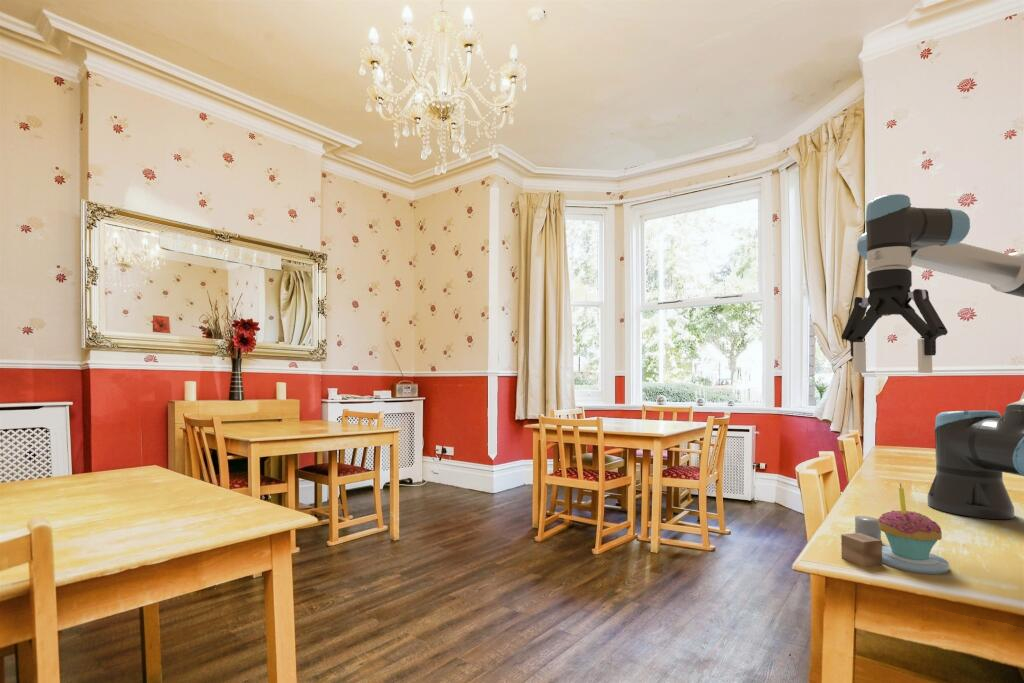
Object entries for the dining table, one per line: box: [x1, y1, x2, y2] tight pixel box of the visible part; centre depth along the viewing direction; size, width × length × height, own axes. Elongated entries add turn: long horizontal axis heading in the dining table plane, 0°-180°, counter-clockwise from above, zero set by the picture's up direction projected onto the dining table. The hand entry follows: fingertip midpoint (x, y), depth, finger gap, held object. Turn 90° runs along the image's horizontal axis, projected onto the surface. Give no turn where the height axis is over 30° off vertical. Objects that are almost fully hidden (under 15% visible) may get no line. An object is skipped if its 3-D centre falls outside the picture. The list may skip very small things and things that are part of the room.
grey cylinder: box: [854, 515, 882, 540], centre depth 97 cm, size 4×4×4 cm
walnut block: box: [840, 533, 883, 568], centre depth 86 cm, size 4×4×4 cm
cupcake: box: [877, 482, 943, 560], centre depth 87 cm, size 9×8×12 cm
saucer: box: [882, 545, 950, 575], centre depth 86 cm, size 10×10×1 cm
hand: (890, 372), depth 107 cm, fingers open, 13 cm apart
